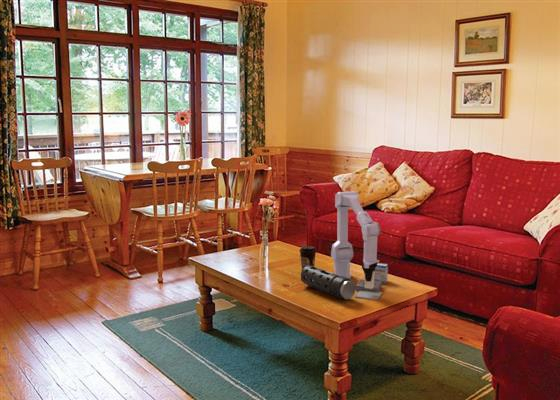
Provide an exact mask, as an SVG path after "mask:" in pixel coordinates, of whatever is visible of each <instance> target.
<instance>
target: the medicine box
mask: <svg viewBox="0 0 560 400" xmlns="http://www.w3.org/2000/svg"><path fill="white" fill-rule="evenodd" d="M388 273H389V263H381V262H379V263H378V264H377V266H376V268H375V274H374V281H379V282H382V284H387V282H388Z"/></svg>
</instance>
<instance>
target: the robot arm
mask: <svg viewBox="0 0 560 400" xmlns="http://www.w3.org/2000/svg"><path fill="white" fill-rule="evenodd" d="M334 197H335V198H334V203H335V204H334V208H336V209H337V212H336V213H337V218H336V219H337V220H336V221H337V225H336V226H337V229H336V231H337V232H336V233H337V235H336V236H337V240H336V241H335V242H334V243H332V245H331V250H330V257H331V259H332V261H334V264H333V265H334V267H333V269H334V271H333V272H334V273H333V274H336V275H339V276H343V277H346V278H349V279H351V278H352V276H353V275H352V274H351V260H352V259H353V257H354V250H353V244H352V243H350V242H349V241H348V240H349V239H348V238H349V231H348V229H349V222H348V221H349V210H350V208H351V210H353V212H354V213H355V214H356V221H357V222H358V224H359V225H360V228H361V233H362V240H363V258H362V262H363V264H362V265H361V269H362V270H363V273H364V280H365V279H366V281H370V282H371V279H372V274H373V271H375V268H376V266H377V264H378V263H380V260H379V259H377V257H378V256H377V255H378V254H377V253H378V236H380V234H381V227H380V224H379V223H378V222H376V221H373V219H372V217H371V216H370V214H369V213H368V211H365V210H364V209H363V207H362V204H361V203H360V195H359V193H358V192H357V191H356V190H353V191H338V192H336V194H335V195H334Z"/></svg>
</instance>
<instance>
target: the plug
mask: <svg viewBox="0 0 560 400" xmlns="http://www.w3.org/2000/svg"><path fill="white" fill-rule="evenodd" d="M374 274H375V271H373V274H372V279H371V282H370V281H366V279H365V278H364V280H365V285H364V288H370V289H373V287H374Z"/></svg>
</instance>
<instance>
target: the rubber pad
mask: <svg viewBox="0 0 560 400" xmlns="http://www.w3.org/2000/svg"><path fill="white" fill-rule="evenodd" d="M382 295H383V292H382V291H379V292H371V291H363V290H360V291H357V293H356V295H354V296H355V297H354V298H357V299H362V300H363V299H365V300H370V301H379V299H380V297H382Z"/></svg>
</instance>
